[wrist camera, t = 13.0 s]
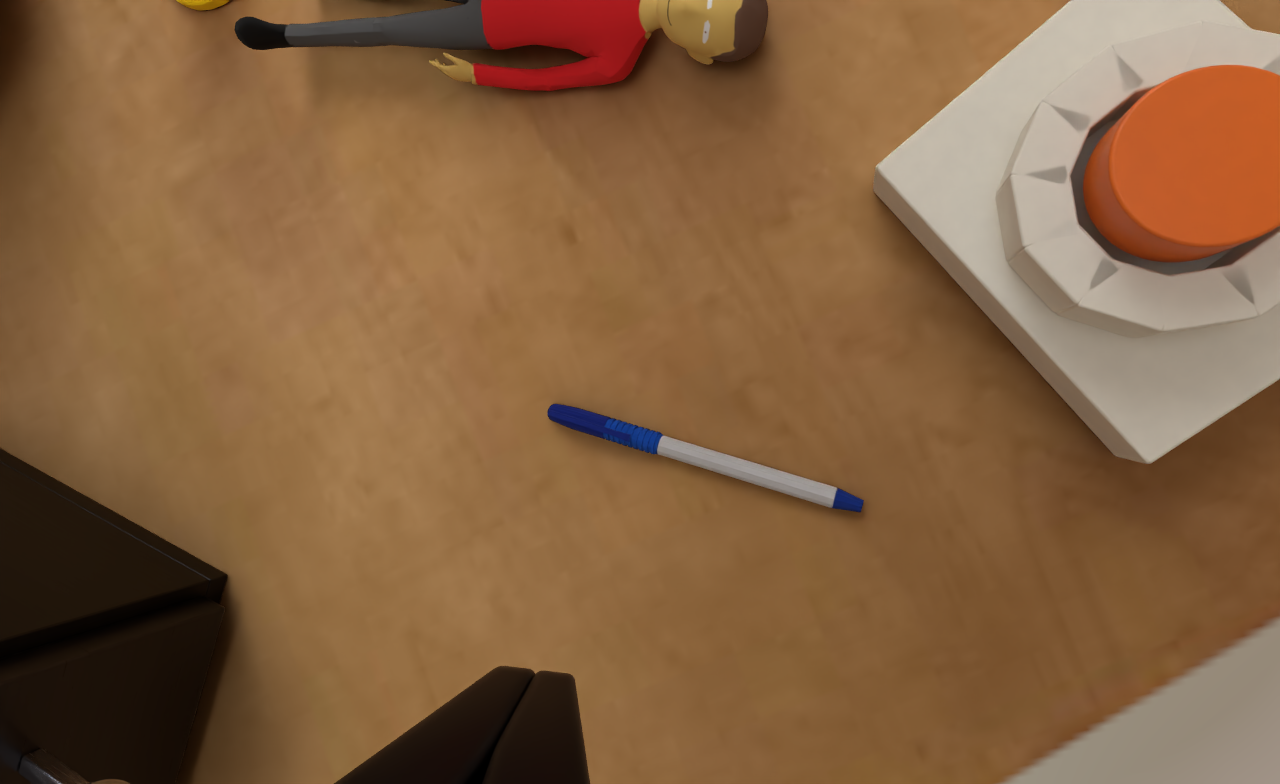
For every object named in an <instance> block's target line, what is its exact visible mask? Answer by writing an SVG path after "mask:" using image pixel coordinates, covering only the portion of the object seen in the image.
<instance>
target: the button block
mask: <svg viewBox="0 0 1280 784" xmlns="http://www.w3.org/2000/svg"><path fill="white" fill-rule="evenodd" d="M1216 65H1244V66H1251V67H1256V68H1260V69H1264V70H1268V71H1270V72H1273V73H1275V74H1278V75H1280V34H1274V33H1269V32H1264V31H1259V30H1253V29H1251V28H1250V27H1249V26H1248V25H1247V24H1245V23H1244V22H1243V21H1242V20H1241V19H1240V18H1239V17H1238V16H1236V15H1235V14H1234V13H1233V12H1232V11H1231V10H1230V9H1229V8H1227V7H1226V6H1225V5H1224V4H1223V3H1222V2H1221V1H1220V0H1071V1H1069V2H1068V3H1067V4H1066V5H1065V6H1064V7H1062V8H1061V9H1060V10H1059V11H1058V12H1057V13H1055V14H1054V15H1053V16H1052V17H1051V18H1049V19H1048V20H1047V21H1046V22H1045V23H1044V24H1042V25H1041V26H1040V27H1039V28H1038V29H1037V30H1035V31H1034V32H1033V33H1032V34H1031V35H1029V36H1028V37H1027V38H1026V39H1025V40H1024V41H1022V42H1021V43H1020V44H1019V45H1018V46H1016V47H1015V48H1014V49H1013V50H1012V51H1011V52H1009V53H1008V54H1007V55H1006V56H1005V57H1004V58H1002V59H1001V60H1000V61H999V62H998V63H996V64H995V65H994V66H993V67H992V68H991V69H989V70H988V71H987V72H986V73H985V74H984V75H982V76H981V77H980V78H979V79H978V80H976V81H975V82H974V83H973V84H972V85H971V86H969V87H968V88H967V89H966V90H965V91H964V92H962V93H961V94H960V95H959V96H958V97H956V98H955V99H954V100H953V101H952V102H951V103H949V104H948V105H947V106H946V107H945V108H944V109H942V110H941V111H940V112H939V113H938V114H936V115H935V116H934V117H933V118H932V119H931V120H929V121H928V122H927V123H926V124H925V125H924V126H922V127H921V128H920V129H919V130H918V131H916V132H915V133H914V134H913V135H912V136H911V137H909V138H908V139H907V140H906V141H905V142H904V143H902V144H901V145H900V146H899V147H898V148H896V149H895V150H894V151H893V152H892V153H891V154H889V155H888V156H887V157H886V158H885V159H884V160H882V161H881V162H880V163H879V164H878V165H877V166H876V167H875V176H874V186H873V190H874V192H875V193H876V194H877V196H878V197H879V198H880V199H881V200H882V201H883V202H884V203H885V204H886V205H887V207H888V208H889V209H890V210H891V211H892V212H893V213H894V214H895V215H896V216H897V217H898V219H899V220H900V221H901V222H902V223H903V224H904V225H905V226H906V227H907V228H908V230H909V231H910V232H911V233H912V234H913V235H914V236H915V237H916V238H917V239H918V241H919V242H920V243H921V244H922V245H923V246H924V247H925V248H926V249H927V250H928V251H929V253H930V254H931V255H932V256H933V257H934V258H935V259H936V260H937V261H938V262H939V264H940V265H941V266H942V267H943V268H944V269H945V270H946V271H947V272H948V273H949V275H950V276H951V277H952V278H953V279H954V280H955V281H956V282H957V283H958V284H959V285H960V287H961V288H962V289H963V290H964V291H965V292H966V293H967V294H968V295H969V296H970V298H971V299H972V300H973V301H974V302H975V303H976V304H977V305H978V306H979V307H980V309H981V310H982V311H983V312H984V313H985V314H986V315H987V316H988V317H989V318H990V319H991V321H992V322H993V323H994V324H995V325H996V326H997V327H998V328H999V329H1000V330H1001V332H1002V333H1003V334H1004V335H1005V336H1006V337H1007V338H1008V339H1009V340H1010V341H1011V343H1012V344H1013V345H1014V346H1015V347H1016V348H1017V349H1018V350H1019V351H1020V352H1021V353H1022V355H1023V356H1024V357H1025V358H1026V359H1027V360H1028V361H1029V362H1030V363H1031V364H1032V366H1033V367H1034V368H1035V369H1036V370H1037V371H1038V372H1039V373H1040V374H1041V375H1042V377H1043V378H1044V379H1045V380H1046V381H1047V382H1048V383H1049V384H1050V385H1051V386H1052V387H1053V389H1054V390H1055V391H1056V392H1057V393H1058V394H1059V395H1060V396H1061V397H1062V398H1063V400H1064V401H1065V402H1066V403H1067V404H1068V405H1069V406H1070V407H1071V408H1072V409H1073V411H1074V412H1075V413H1076V414H1077V415H1078V416H1079V417H1080V418H1081V419H1082V420H1083V421H1084V423H1085V424H1086V425H1087V426H1088V427H1089V428H1090V429H1091V430H1092V431H1093V432H1094V434H1095V435H1096V436H1097V437H1098V438H1099V439H1100V440H1101V441H1102V442H1103V443H1104V445H1105V446H1106V447H1107V448H1108V449H1109V450H1110V451H1111V452H1112V453H1113V454H1114V455H1115V456H1117V457H1120V458H1124V459H1129V460H1133V461H1137V462H1142V463H1146V464H1150V463H1152V462H1154V461H1155V460H1157V459H1158V458H1160V457H1162V456H1163V455H1165V454H1166V453H1168V452H1169V451H1171V450H1172V449H1174V448H1175V447H1177V446H1178V445H1180V444H1181V443H1183V442H1184V441H1186V440H1187V439H1189V438H1190V437H1192V436H1194V435H1195V434H1197V433H1198V432H1200V431H1201V430H1203V429H1204V428H1206V427H1207V426H1209V425H1210V424H1212V423H1213V422H1215V421H1216V420H1218V419H1219V418H1221V417H1222V416H1224V415H1226V414H1227V413H1229V412H1230V411H1232V410H1233V409H1235V408H1236V407H1238V406H1239V405H1241V404H1242V403H1244V402H1245V401H1247V400H1248V399H1250V398H1251V397H1253V396H1255V395H1256V394H1258V393H1259V392H1261V391H1262V390H1264V389H1265V388H1267V387H1268V386H1270V385H1271V384H1273V383H1274V382H1276V381H1277V380H1279V379H1280V226H1279V227H1277V228H1276V229H1274V230H1273V231H1271V232H1269V233H1267V234H1265V235H1262V236H1260V237H1258V238H1256V239H1253V240H1251V241H1248V242H1246V243H1243V244H1240V245H1238V246H1235V247H1233V248H1230V249H1228V250H1225V251H1222V252H1220V253H1217V254H1214V255H1212V256H1209V257H1206V258H1202V259H1198V260H1194V261H1187V262H1157V261H1151V260H1146V259H1142V258H1139V257H1136V256H1133V255H1131V254H1129V253H1127V252H1125V251H1123V250H1121V249H1119V248H1118V247H1116V246H1115V245H1113V244H1112V243H1110V242H1109V241H1108V240H1107V239H1106V238H1105V237H1104V236H1103V235H1102V234H1101V233H1100V232H1099V231H1098V229H1097V228H1096V227H1095V225H1094V224H1093V222H1092V220H1091V219H1090V216H1089V214H1088V212H1087V209H1086V205H1085V202H1084V195H1083V179H1084V174H1085V169H1086V166H1087V163H1088V160H1089V158H1090V156H1091V154H1092V152H1093V150H1094V148H1095V147H1096V145H1097V144H1098V142H1099V141H1100V139H1101V138H1102V137H1103V136H1104V135H1105V134H1106V133H1107V131H1108V130H1109V129H1110V128H1111V127H1112V126H1113V125H1114V124H1115V123H1116V122H1117V121H1118V120H1119V119H1120V118H1121V117H1122V116H1123V115H1124V114H1125V113H1126V112H1127V111H1128V110H1129V109H1130V108H1131V106H1132V105H1133V104H1134V103H1135V102H1136V101H1138V100H1139V99H1140V98H1141V97H1142V96H1143V95H1144V94H1145V93H1147V92H1148V91H1150V90H1151V89H1152V88H1154V87H1155V86H1157V85H1158V84H1160V83H1162V82H1164V81H1165V80H1167V79H1169V78H1171V77H1174V76H1176V75H1178V74H1181V73H1184V72H1187V71H1190V70H1193V69H1197V68H1202V67H1208V66H1216Z"/></svg>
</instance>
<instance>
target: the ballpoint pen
mask: <svg viewBox="0 0 1280 784" xmlns="http://www.w3.org/2000/svg"><path fill="white" fill-rule="evenodd" d="M548 417H549V419H551V420H552V421H554V422H557V423H559V424H561V425H564V426H566V427H569V428H571V429H574V430H577V431H581V432H584V433H587V434H590V435H593V436H597V437H600V438H603V439H605V438H606V440H609V441H610V440H611V441H612V442H617V443H619V444H623V445H625V446H627V445H628V447H631V448H632V447H634V448H635V449H638V448H639V450H641V451H644V450H645V452H647V453H649V452H650V453H651V454H659V455H663V456H666V457H669V458H672V459H676V460H679V461H682V462H685V463H688V464H692V465H695V466H698V467H701V468H705V469H708V470H711V471H714V472H717V473H721V474H724V475H727V476H730V477H733V478H737V479H740V480H743V481H746V482H750V483H753V484H756V485H759V486H762V487H766V488H769V489H772V490H775V491H779V492H782V493H785V494H788V495H791V496H795V497H798V498H801V499H804V500H807V501H811V502H814V503H817V504H820V505H824V506H827V507H830V508H835V509H842V510H849V511H856V512H861V509H862V505H863V501H864V500H862V499H860V498H857V497H855V496H853V495H851V494H849V493H847V492H845V491H843V490H841V489H839V488H838V489H837V488H836V487H833V486H830V485H826V484H823V483H820V482H816V481H813V480H810V479H806V478H803V477H800V476H796V475H793V474H790V473H786V472H783V471H780V470H777V469H773V468H770V467H767V466H763V465H760V464H757V463H753V462H750V461H747V460H743V459H740V458H737V457H733V456H730V455H727V454H723V453H720V452H717V451H714V450H710V449H707V448H704V447H700V446H697V445H694V444H690V443H687V442H684V441H680V440H677V439H674V438H670V437H667V436H664V435H662V434H661V433H660V432H655V431H653V430H651V431H650V429H647V428H646V429H644V428H643V427H638V426H637V425H634V426H633V424H630V423H629V424H628V423H627V422H622V421H620V420H616V419H611V418H610V417H606V416H603V415H600V414H596V413H593V412H590V411H586V410H583V409H580V408H575V407H571V406H566V405H560V404H553V405H551V406H550V407H549V409H548ZM832 505H833V506H832Z"/></svg>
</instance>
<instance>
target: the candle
mask: <svg viewBox="0 0 1280 784" xmlns="http://www.w3.org/2000/svg"><path fill="white" fill-rule="evenodd" d="M176 1H177V2H179V3H181V4H182V5H184V6H186V7H188V8H191V9H195V10H198V11H200V10H212V9H214V8H217V7H219V6H222V5H224V4H226V3H227V2H229V1H230V0H176Z"/></svg>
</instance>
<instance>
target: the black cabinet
mask: <svg viewBox="0 0 1280 784" xmlns="http://www.w3.org/2000/svg"><path fill="white" fill-rule="evenodd" d="M226 579H227V574H225V573H223V572H221V571H219V570H218V569H216V568H214V567H212V566H210V565H209V564H207V563H205V562H203V561H201V560H200V559H198V558H196V557H194V556H192V555H191V554H189V553H187V552H185V551H183V550H182V549H180V548H178V547H176V546H174V545H173V544H171V543H169V542H167V541H165V540H164V539H162V538H160V537H158V536H156V535H155V534H153V533H151V532H149V531H147V530H146V529H144V528H142V527H140V526H138V525H137V524H135V523H133V522H131V521H129V520H128V519H126V518H124V517H122V516H120V515H119V514H117V513H115V512H113V511H111V510H110V509H108V508H106V507H104V506H102V505H101V504H99V503H97V502H95V501H93V500H92V499H90V498H88V497H86V496H84V495H83V494H81V493H79V492H77V491H75V490H73V489H72V488H70V487H68V486H66V485H64V484H63V483H61V482H59V481H57V480H55V479H54V478H52V477H50V476H48V475H46V474H45V473H43V472H41V471H39V470H37V469H36V468H34V467H32V466H30V465H28V464H27V463H25V462H23V461H21V460H19V459H18V458H16V457H14V456H12V455H10V454H9V453H7V452H5V451H3V450H1V449H0V659H1V658H4V657H7V656H10V655H14V654H17V653H20V652H23V651H26V650H30V649H33V648H36V647H39V646H43V645H46V644H49V643H52V642H56V641H59V640H62V639H65V638H69V637H72V636H75V635H78V634H82V633H85V632H88V631H91V630H94V629H98V628H101V627H104V626H107V625H111V624H114V623H117V622H120V621H124V620H127V619H130V618H133V617H137V616H140V615H143V614H146V613H150V612H153V611H156V610H159V609H162V608H166V607H169V606H172V605H175V604H179V603H182V602H185V601H188V600H192V599H195V598H198V597H201V596H206V597H207V598H209V599H211V600H212V601H214V602H216V603H218V604H220V600H221V597H222V593H223V590H224V586H225V583H226Z"/></svg>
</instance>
